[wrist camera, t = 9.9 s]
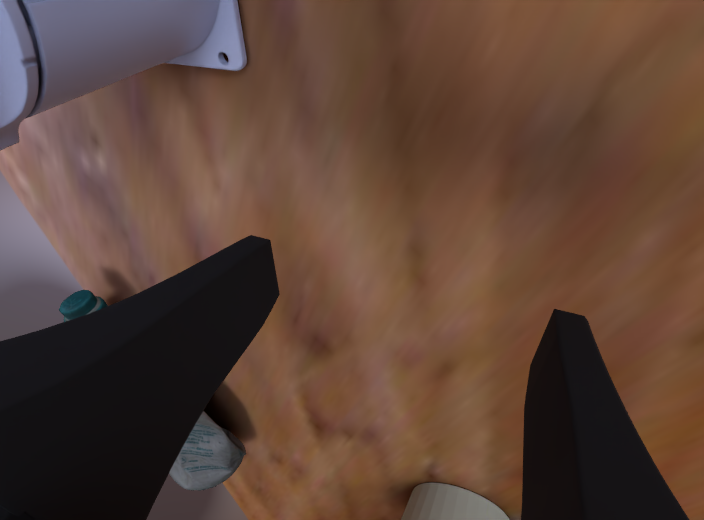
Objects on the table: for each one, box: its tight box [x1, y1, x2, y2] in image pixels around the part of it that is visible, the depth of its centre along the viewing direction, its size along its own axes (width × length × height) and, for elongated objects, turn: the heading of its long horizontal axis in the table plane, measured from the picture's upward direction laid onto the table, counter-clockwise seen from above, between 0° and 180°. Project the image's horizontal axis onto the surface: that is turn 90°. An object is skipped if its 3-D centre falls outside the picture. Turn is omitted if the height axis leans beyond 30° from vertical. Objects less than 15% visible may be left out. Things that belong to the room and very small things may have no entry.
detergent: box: [59, 290, 246, 490], centre depth 40 cm, size 13×7×25 cm
